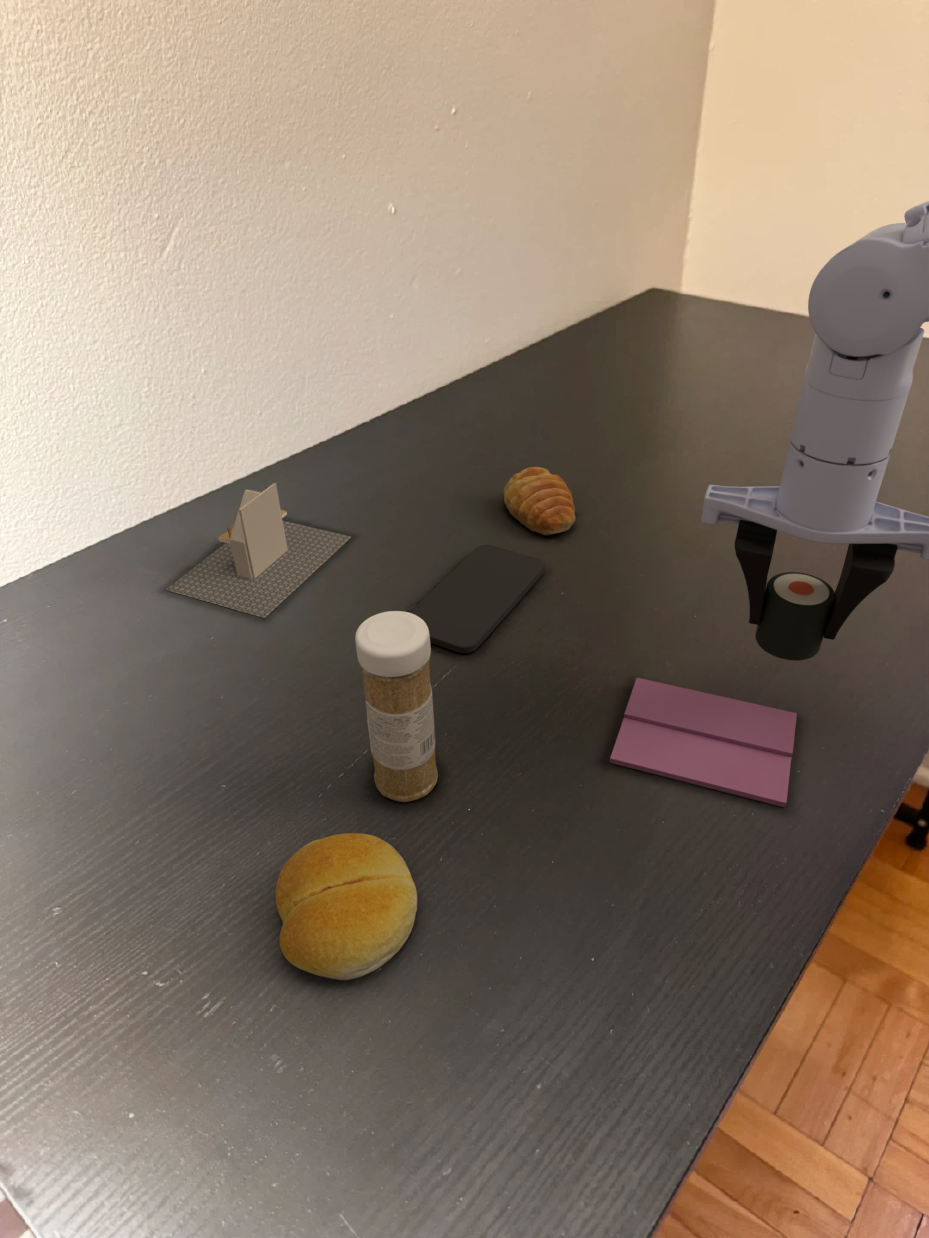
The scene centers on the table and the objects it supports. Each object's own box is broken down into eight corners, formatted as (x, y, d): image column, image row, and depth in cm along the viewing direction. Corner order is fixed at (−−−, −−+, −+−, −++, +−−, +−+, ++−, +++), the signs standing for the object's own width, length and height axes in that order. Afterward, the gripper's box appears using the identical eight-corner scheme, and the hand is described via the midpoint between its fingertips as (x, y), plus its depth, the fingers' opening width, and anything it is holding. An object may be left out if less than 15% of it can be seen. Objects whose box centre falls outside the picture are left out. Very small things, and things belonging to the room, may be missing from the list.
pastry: (591, 532, 85) (593, 499, 83) (529, 545, 84) (529, 512, 82) (554, 491, 93) (555, 459, 90) (497, 502, 91) (496, 470, 89)
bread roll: (288, 1003, 47) (276, 963, 44) (275, 871, 54) (264, 831, 51) (434, 965, 48) (430, 925, 46) (402, 842, 55) (398, 801, 53)
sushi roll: (821, 629, 61) (837, 576, 58) (818, 666, 58) (834, 612, 55) (758, 617, 62) (770, 564, 60) (751, 653, 59) (764, 598, 56)
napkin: (794, 719, 63) (797, 711, 63) (785, 807, 57) (787, 798, 56) (636, 684, 67) (637, 675, 66) (609, 762, 60) (610, 754, 60)
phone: (395, 624, 72) (481, 541, 83) (396, 632, 73) (481, 549, 83) (470, 650, 69) (549, 561, 80) (470, 658, 70) (549, 568, 80)
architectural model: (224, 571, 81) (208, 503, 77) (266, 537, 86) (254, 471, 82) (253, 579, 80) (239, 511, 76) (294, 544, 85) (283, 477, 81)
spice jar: (402, 747, 62) (388, 599, 54) (451, 774, 60) (444, 624, 52) (360, 786, 59) (338, 635, 51) (410, 816, 57) (395, 663, 49)
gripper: (968, 434, 52) (904, 612, 60) (725, 404, 56) (697, 574, 64) (977, 485, 46) (906, 673, 55) (709, 448, 51) (680, 627, 59)
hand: (792, 623), depth 59 cm, fingers closed on sushi roll, 4 cm apart
